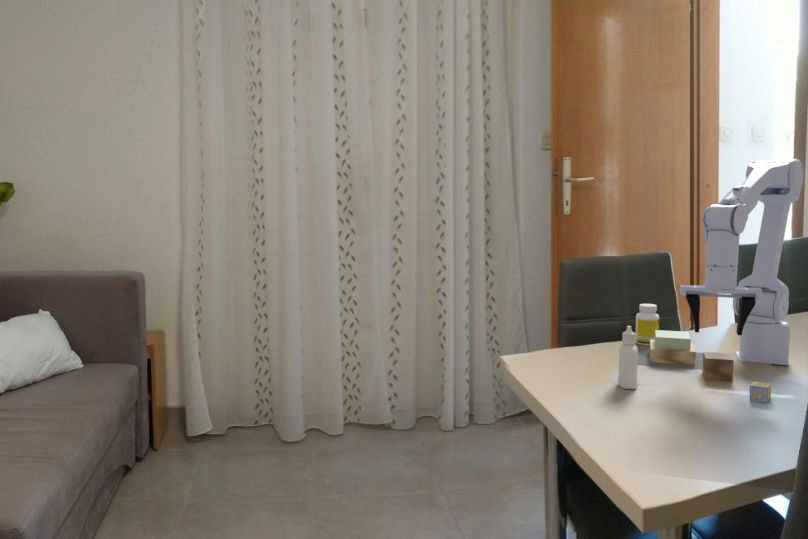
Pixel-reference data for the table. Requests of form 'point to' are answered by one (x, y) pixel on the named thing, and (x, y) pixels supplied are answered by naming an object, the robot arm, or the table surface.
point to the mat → (645, 360)
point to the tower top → (672, 340)
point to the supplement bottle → (646, 324)
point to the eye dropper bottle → (628, 360)
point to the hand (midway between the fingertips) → (717, 332)
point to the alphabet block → (760, 392)
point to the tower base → (672, 355)
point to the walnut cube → (718, 366)
